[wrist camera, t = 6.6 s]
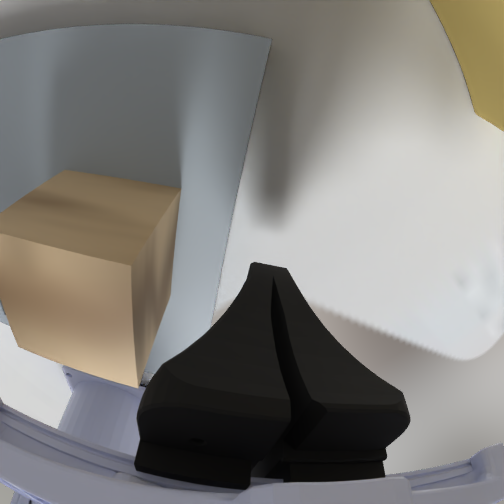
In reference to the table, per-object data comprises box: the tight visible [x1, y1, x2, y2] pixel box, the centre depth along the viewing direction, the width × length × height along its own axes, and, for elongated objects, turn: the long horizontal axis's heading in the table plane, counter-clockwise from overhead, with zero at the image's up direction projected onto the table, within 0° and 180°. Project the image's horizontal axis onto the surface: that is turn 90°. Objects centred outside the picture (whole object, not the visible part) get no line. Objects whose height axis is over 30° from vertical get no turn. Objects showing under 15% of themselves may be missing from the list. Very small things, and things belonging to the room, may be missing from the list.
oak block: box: [0, 170, 181, 388], centre depth 10 cm, size 5×5×5 cm
